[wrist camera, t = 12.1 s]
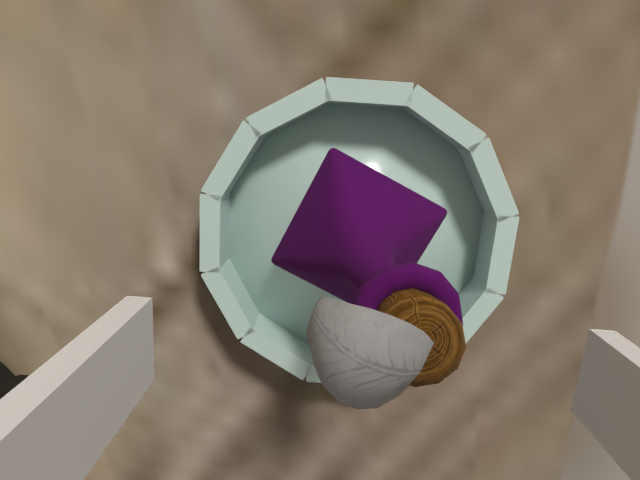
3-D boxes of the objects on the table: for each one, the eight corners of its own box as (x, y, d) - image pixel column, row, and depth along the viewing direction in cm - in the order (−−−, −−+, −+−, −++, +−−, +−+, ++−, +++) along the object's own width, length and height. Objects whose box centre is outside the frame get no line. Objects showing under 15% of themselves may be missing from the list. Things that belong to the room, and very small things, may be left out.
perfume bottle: (436, 201, 28) (604, 320, 11) (376, 300, 30) (436, 542, 12) (331, 143, 27) (325, 168, 10) (276, 247, 29) (188, 424, 12)
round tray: (213, 347, 32) (199, 373, 29) (216, 75, 28) (200, 68, 24) (471, 367, 32) (487, 395, 28) (516, 96, 27) (541, 91, 24)
